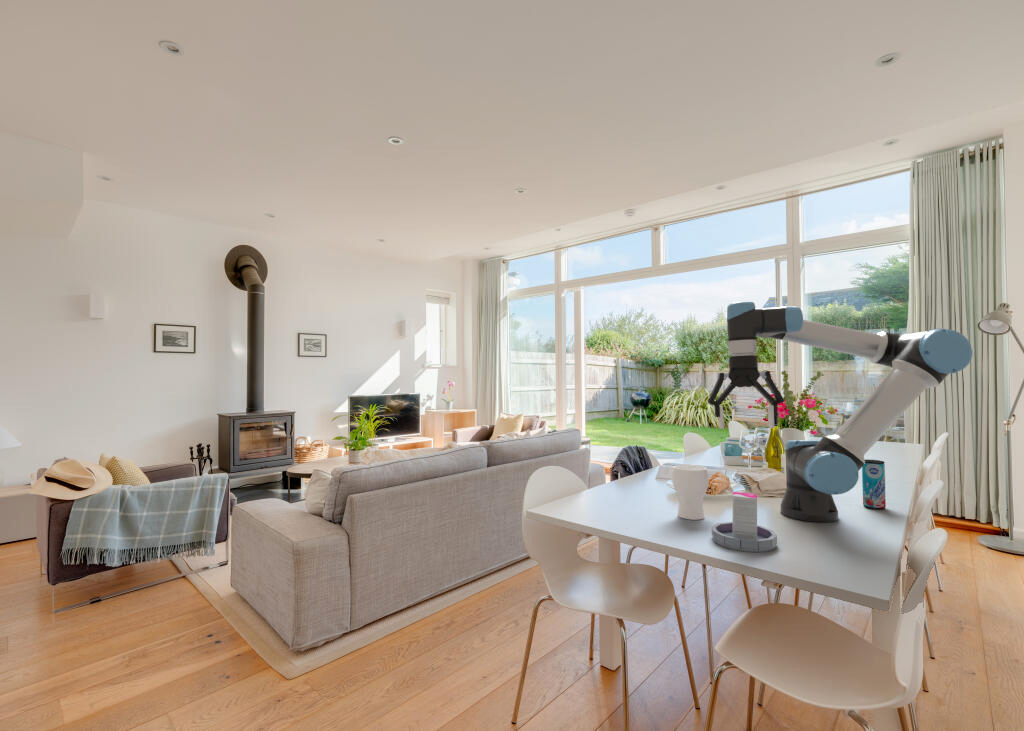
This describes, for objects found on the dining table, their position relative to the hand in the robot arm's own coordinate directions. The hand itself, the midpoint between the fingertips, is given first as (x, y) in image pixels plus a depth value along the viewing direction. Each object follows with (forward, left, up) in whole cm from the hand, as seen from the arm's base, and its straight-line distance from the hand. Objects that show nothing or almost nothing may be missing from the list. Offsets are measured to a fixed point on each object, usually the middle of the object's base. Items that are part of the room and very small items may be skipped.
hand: (746, 428), depth 142 cm
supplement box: (+4, +16, -27) cm, 32 cm away
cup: (+15, -5, -28) cm, 32 cm away
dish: (+4, +16, -28) cm, 33 cm away
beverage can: (-43, -28, -28) cm, 58 cm away
